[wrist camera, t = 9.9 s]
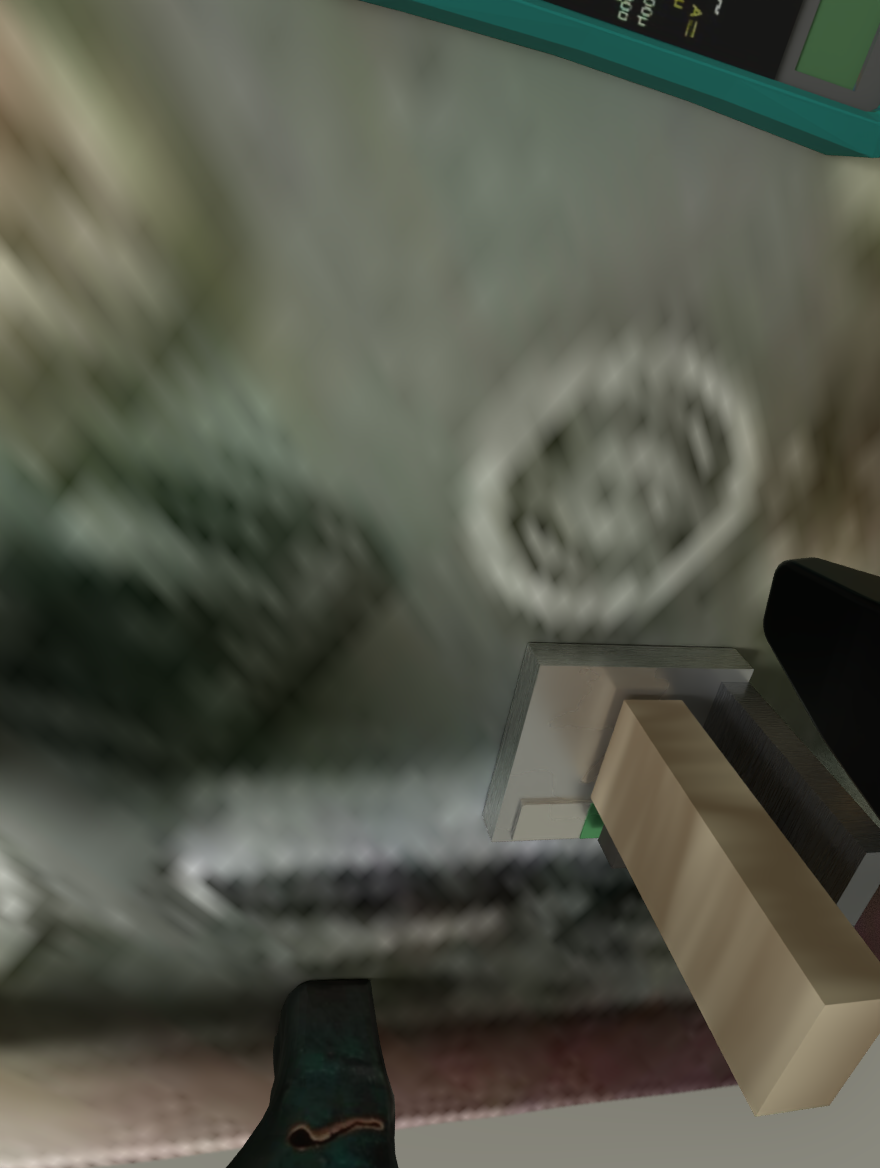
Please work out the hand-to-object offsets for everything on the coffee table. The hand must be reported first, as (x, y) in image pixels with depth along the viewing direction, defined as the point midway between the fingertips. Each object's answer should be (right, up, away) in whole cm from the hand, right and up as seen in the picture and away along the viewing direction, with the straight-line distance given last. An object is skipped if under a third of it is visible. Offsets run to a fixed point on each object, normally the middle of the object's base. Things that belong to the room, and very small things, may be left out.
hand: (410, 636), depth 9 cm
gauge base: (+6, -4, +18) cm, 19 cm away
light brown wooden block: (+7, -6, +17) cm, 19 cm away
